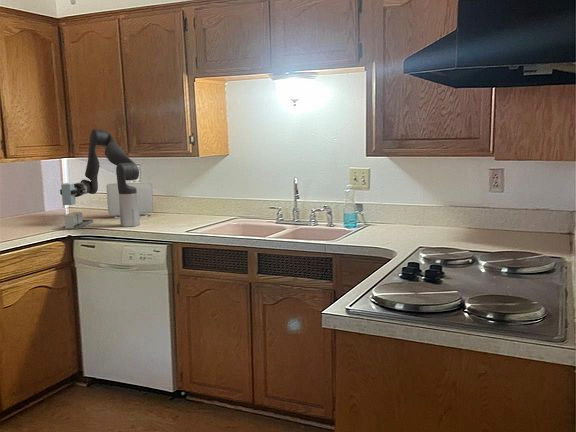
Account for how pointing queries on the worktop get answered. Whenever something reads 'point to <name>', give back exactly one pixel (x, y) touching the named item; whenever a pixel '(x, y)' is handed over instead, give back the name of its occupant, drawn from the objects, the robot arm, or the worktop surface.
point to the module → (68, 194)
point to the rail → (75, 221)
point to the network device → (142, 198)
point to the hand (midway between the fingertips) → (66, 192)
